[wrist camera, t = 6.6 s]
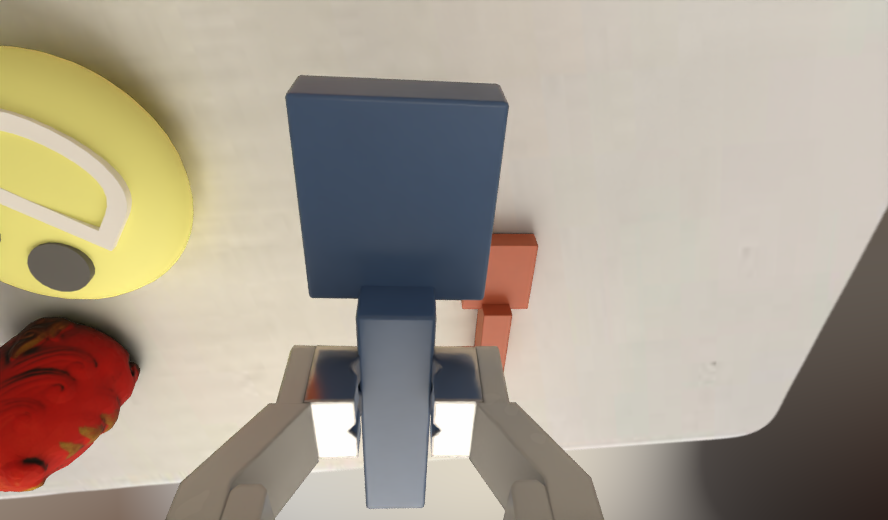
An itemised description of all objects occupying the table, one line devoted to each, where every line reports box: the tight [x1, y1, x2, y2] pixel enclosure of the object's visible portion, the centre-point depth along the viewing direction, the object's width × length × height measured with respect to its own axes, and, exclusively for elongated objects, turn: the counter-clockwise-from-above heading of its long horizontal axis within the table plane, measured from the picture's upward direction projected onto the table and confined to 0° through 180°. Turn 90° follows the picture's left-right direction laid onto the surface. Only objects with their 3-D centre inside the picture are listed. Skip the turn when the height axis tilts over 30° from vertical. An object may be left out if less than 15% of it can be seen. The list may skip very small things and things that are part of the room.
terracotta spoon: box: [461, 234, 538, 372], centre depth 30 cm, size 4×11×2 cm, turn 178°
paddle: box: [285, 75, 509, 509], centre depth 12 cm, size 4×11×2 cm, turn 177°
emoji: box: [0, 46, 193, 299], centre depth 23 cm, size 4×12×12 cm
